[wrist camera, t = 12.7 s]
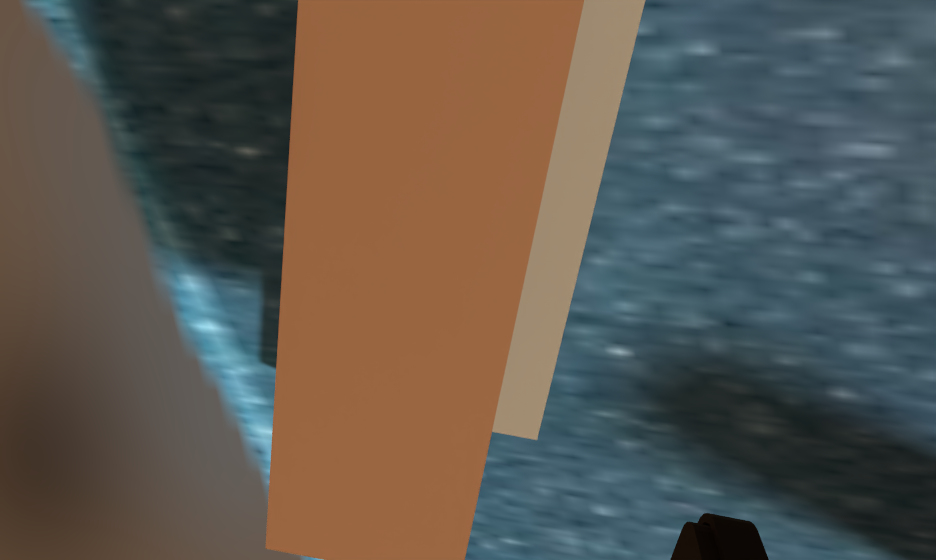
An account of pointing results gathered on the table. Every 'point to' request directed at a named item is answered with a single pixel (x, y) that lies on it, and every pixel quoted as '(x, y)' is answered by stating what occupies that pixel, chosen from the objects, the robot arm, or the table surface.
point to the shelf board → (405, 262)
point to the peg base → (566, 208)
